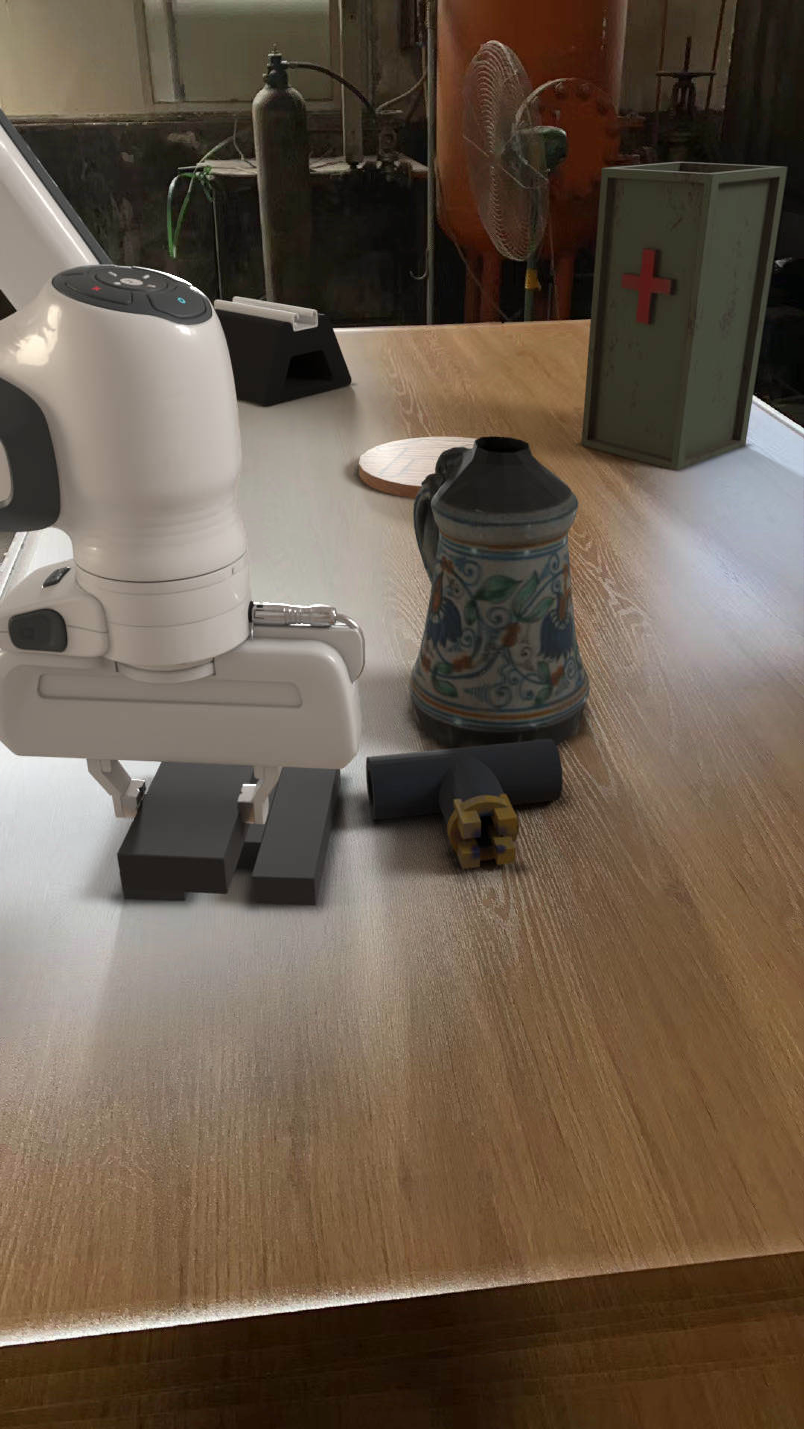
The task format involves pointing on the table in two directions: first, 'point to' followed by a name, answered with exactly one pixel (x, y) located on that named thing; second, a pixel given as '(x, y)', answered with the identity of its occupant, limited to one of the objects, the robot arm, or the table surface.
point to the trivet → (405, 463)
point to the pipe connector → (468, 791)
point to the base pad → (284, 840)
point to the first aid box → (679, 308)
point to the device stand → (280, 351)
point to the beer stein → (497, 600)
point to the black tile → (187, 830)
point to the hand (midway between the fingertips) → (192, 815)
